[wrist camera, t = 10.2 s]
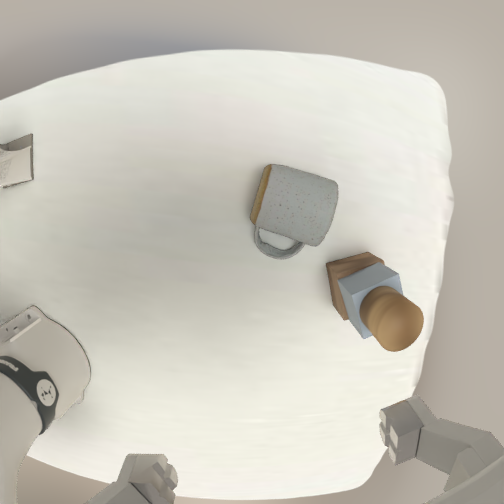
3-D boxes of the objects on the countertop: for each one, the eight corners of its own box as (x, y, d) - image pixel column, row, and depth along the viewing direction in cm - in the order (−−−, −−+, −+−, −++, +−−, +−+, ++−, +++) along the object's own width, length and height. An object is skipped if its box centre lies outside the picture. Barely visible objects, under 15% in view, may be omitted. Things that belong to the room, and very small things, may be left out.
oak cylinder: (362, 334, 29) (380, 358, 24) (356, 293, 28) (375, 313, 23) (401, 319, 29) (423, 340, 24) (397, 279, 28) (422, 296, 23)
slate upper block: (349, 320, 34) (363, 339, 29) (337, 280, 33) (351, 295, 28) (388, 302, 34) (407, 318, 29) (379, 262, 33) (398, 273, 28)
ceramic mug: (263, 162, 35) (267, 157, 28) (327, 181, 36) (347, 182, 28) (240, 246, 37) (238, 262, 30) (303, 263, 38) (316, 282, 30)
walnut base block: (333, 305, 39) (344, 320, 34) (325, 263, 38) (337, 273, 33) (373, 293, 39) (388, 306, 34) (367, 251, 38) (383, 260, 33)
